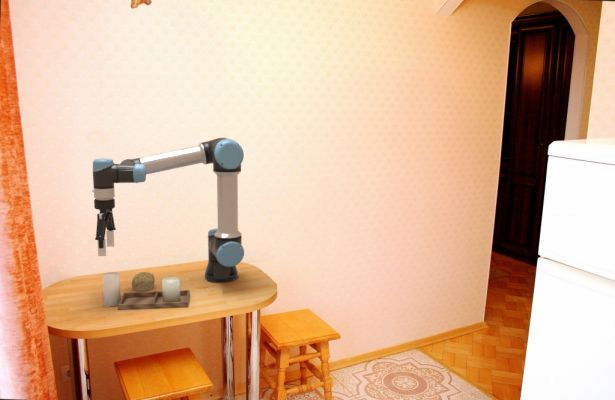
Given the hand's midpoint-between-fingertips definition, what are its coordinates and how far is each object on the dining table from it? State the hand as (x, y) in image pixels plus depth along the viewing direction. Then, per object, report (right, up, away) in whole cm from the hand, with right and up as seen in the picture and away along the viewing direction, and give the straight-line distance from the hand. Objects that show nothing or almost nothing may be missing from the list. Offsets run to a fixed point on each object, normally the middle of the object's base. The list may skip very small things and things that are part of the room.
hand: (106, 251), depth 208 cm
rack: (+19, -21, +1) cm, 29 cm away
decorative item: (+10, -19, +16) cm, 26 cm away
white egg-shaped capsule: (+26, -20, +2) cm, 33 cm away
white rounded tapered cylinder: (+2, -21, +1) cm, 21 cm away
